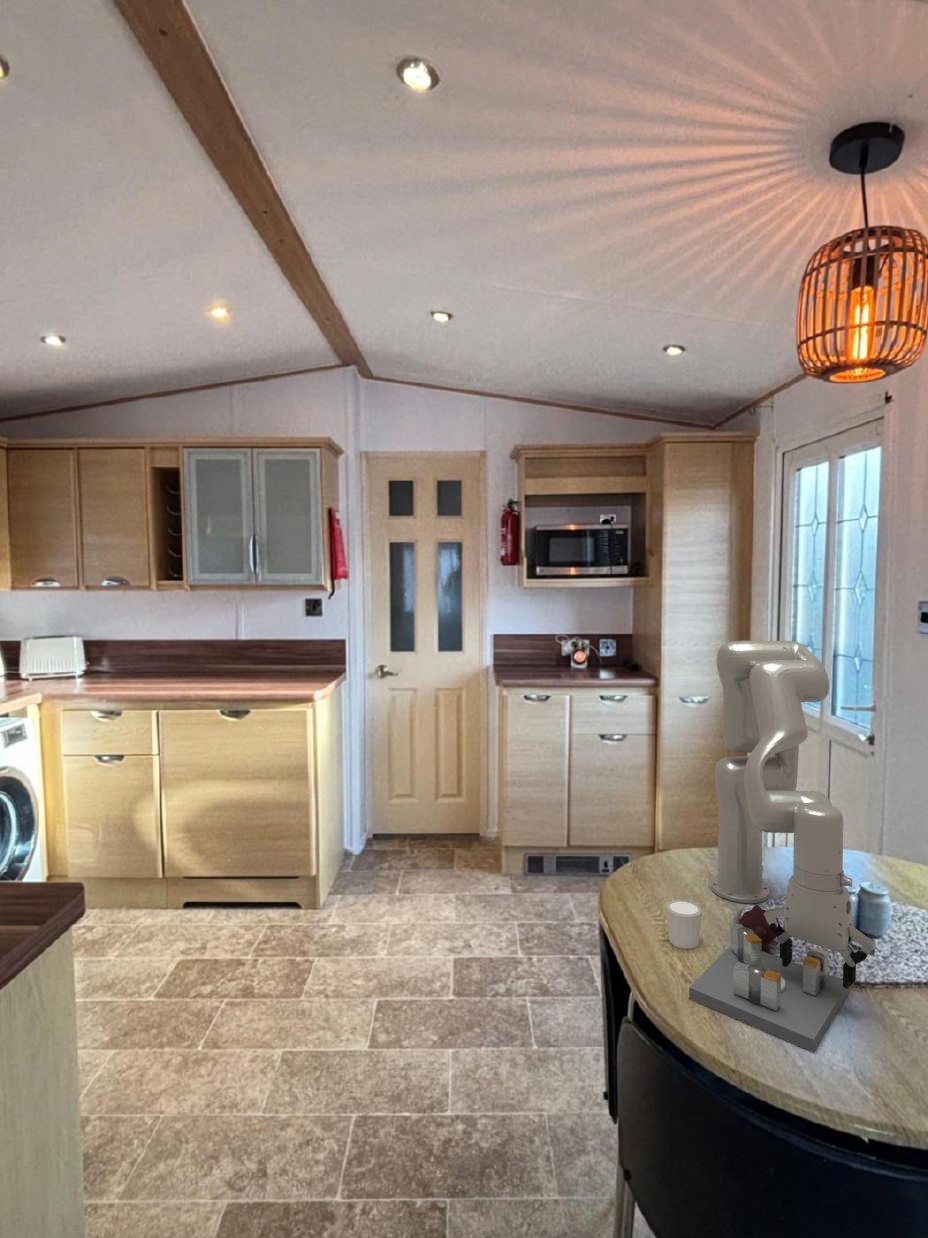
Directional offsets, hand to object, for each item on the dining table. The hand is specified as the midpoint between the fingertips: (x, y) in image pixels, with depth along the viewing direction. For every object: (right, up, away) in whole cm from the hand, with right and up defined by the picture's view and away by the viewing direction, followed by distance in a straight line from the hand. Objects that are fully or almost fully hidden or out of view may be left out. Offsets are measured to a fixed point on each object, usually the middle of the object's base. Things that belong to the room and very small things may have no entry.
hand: (816, 974), depth 117 cm
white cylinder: (-17, -4, +19) cm, 26 cm away
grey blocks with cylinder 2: (0, -2, +1) cm, 2 cm away
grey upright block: (-9, -2, +9) cm, 12 cm away
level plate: (-8, -4, +1) cm, 9 cm away
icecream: (-2, -4, +19) cm, 19 cm away
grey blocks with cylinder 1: (-12, -3, -3) cm, 13 cm away
